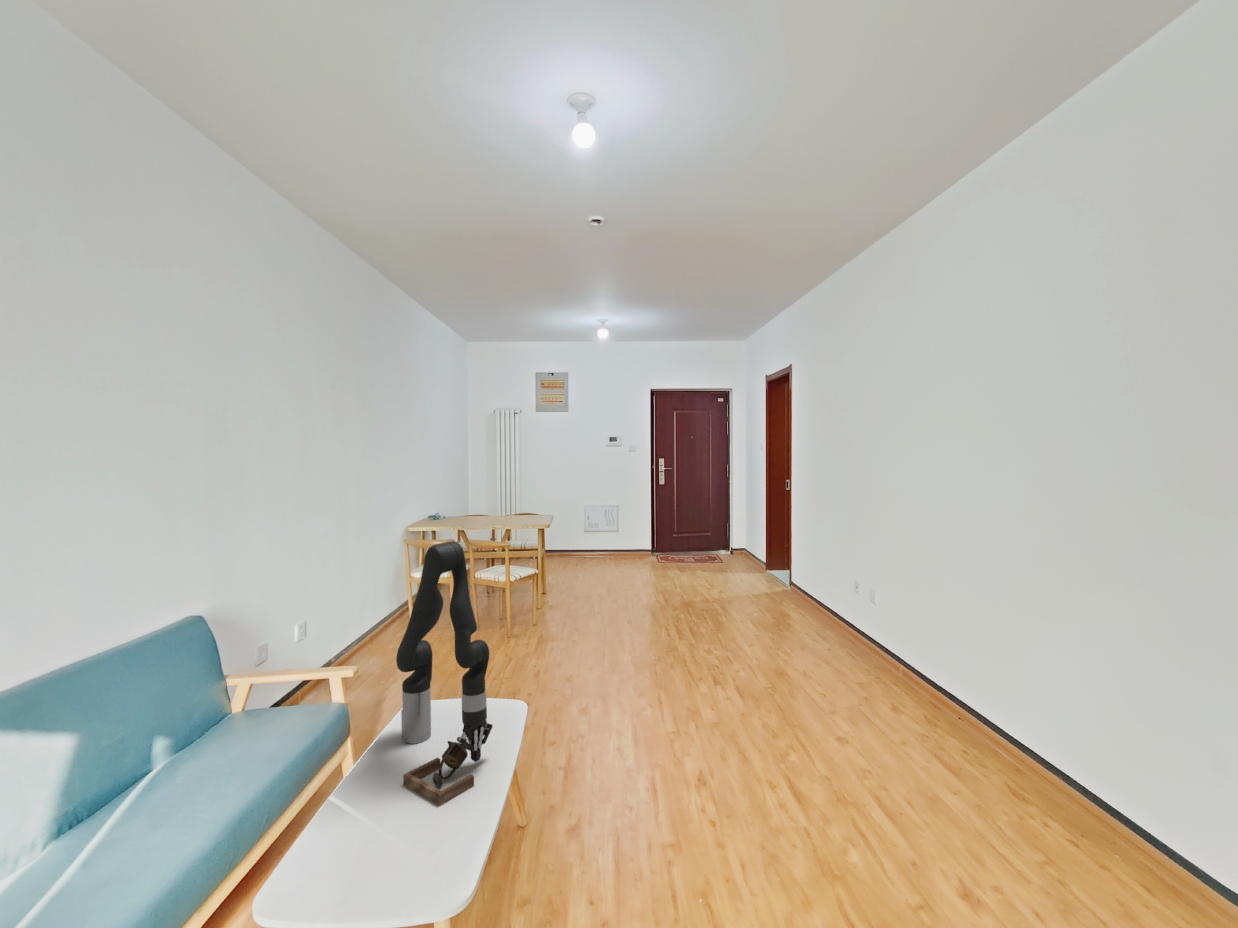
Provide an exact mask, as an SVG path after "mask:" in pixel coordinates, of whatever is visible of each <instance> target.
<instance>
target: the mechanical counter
mask: <svg viewBox="0 0 1238 928" xmlns="http://www.w3.org/2000/svg"><path fill="white" fill-rule="evenodd" d="M447 744H448V747H447V748H446V750H445V751H444V752H443V753H442V755H441V759H440V766H439V770H438V772H436V771H435V772H433V775H432V782H433V784H434V785H435V787H436V788H440V787H442V786H443V781H446V780H448V779H450V778H451V777H452V776H453V774H454V773H455V771H457V770H458V769H460V767H461V766H462V764H463V763H464V762H465V760H466V759H467V757H468V751H467V749H465V748H464V747H463V746H462V745H461V744H460V743H459V742H457V741H450V740H447ZM444 764H445V765H446V766H447V767H448V768H449V769H451V771H450V772H449V774H448V775H446V776H445V777H444V776H443V773H442V772H443V766H444Z"/></svg>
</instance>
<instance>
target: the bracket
mask: <svg viewBox="0 0 1238 928" xmlns="http://www.w3.org/2000/svg"><path fill="white" fill-rule="evenodd" d="M440 763H441V759H440V757H436V758H433V759H431V760H429V761H427V762H425V763H424V764H422V765H420V766H418V767H415V768H413V769H412V770H410V771H407V772H406V773H404V774H403V775H402V779H403V780H402V781H403V786H404V787H407V788H408V789H410V790H412V791H414V792H415V793H417V794H419V795H421V796H422V797H424V798H425V799H428V800H429V801H431V802H432V803H434V804H436V805H438V806H442V805H443V804H445V803H448V802H449V801H450V800H452V799H454V798H456V797H458V796H459V795H461V794H462V793H464V792H467V791H468V790H469V789H471V788H472V787H474V786H475V776H474V775H473V774H468V775H467V776H465V777H463V778H462V779H460V780H458V781H455V782H454V783H452V784H450V785H449V786H447V787H446V788H443V789H442V790H440V789H438V787H436V786H433V785H431V784H429V783H428V782H425V781H423V780H422V779H423V778H425V777H427V776H429V775H431V774H434V773H436V771H439V766H440Z"/></svg>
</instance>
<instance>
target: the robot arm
mask: <svg viewBox="0 0 1238 928" xmlns="http://www.w3.org/2000/svg"><path fill="white" fill-rule="evenodd" d="M447 572H451V574H452V578H453V586H452V587H453V589H452V595H451V597H450V598H451V599H450V603H449V616H450V620H451V624H452V627H453V632H454V658H455V660H456V662H457V664H458V666H459V667H461V668H463V669H468V670H467V671H466V672H465V673H464V674H463V675H462V677H461V689H462V690H461V692H462V693H461V694H462V695H461V719H462V721H461V722H462V724H463V728H462V733H461V735H460V736H458V737H457V738H456V742H457V743H459V744H461V745H462V746H463V747H464V748H465V749H466V751H467V750H468V751H469V752H470V759H471V760H472V761H473V762H475V763H476V762H478V761H480V760H481V756H482V754H481V753H482V752H481V748H482V745H485V744H486V742H487V740H488V737H489V735H490V734H491V731H492V729H493V724H492V723H488V722H487V719H488V713H487V694H486V673H487V671H488V666H489V661H490V649H489V645H488V644H487V643H486V641H485V640H483V639H475V640H473V641H471V639H472V635H473V634H474V633H476V632H477V630H478V625H477V622H476V617H475V613H474V610H473V605H472V603H471V602H472V601H471V596H470V589H469V580H468V571H467V564H466V557H465V552H464V549H463V547H462V546H461V544H460V543H459V542H458V541H454V540H453V541H452V540H451V541H447V542H443V543H438V544H437V543H436V544H434V545H432V546H430V547H428V549H427V551H426V553H425V555H424V559H423V565H422V572H421V576H420V581H419V586H418V589H417V594H416V596H415V600H414V602H413V606H412V609H411V613H410V618H409V620H408V623H407V627H406V630H405V632H404V635H403V637H402V640H401V642H400V644H399V647H398V648H397V652H396V659H395V660H396V667H397V669H398V670H399V671H400V672H402V673H409V672H412V673H411V674H410V675H409V676H408V677H406V678H405V679H404V680H403V681H402V685H401V686H402V691H401V692H402V693H401V694H402V709H401V713H400V714H401V738H402V740H403V742H404V743H407V744H412V745H413V744H420V743H424V742H425V741H426V742H427V740H429V739H430V738H431V736H432V709H431V708H432V705H431V703H432V700H431V699H432V698H431V683H432V680H433V679H432V677H433V649H432V646H431V643H430V642H429V641H428V640H425V639H424V638H425V637H426V636H427V635H428V634H429V633H430V632H431V630H433V628H434V627H435V626H436V625H437V623H438V622H439V620H440V617H441V614H442V612H443V611H442V610H443V607H444V598H443V595H442V593H441V591H440V589H439V585H438V584H439V580H440V578H441V576H442V575H443V574H444V573H447Z"/></svg>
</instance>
